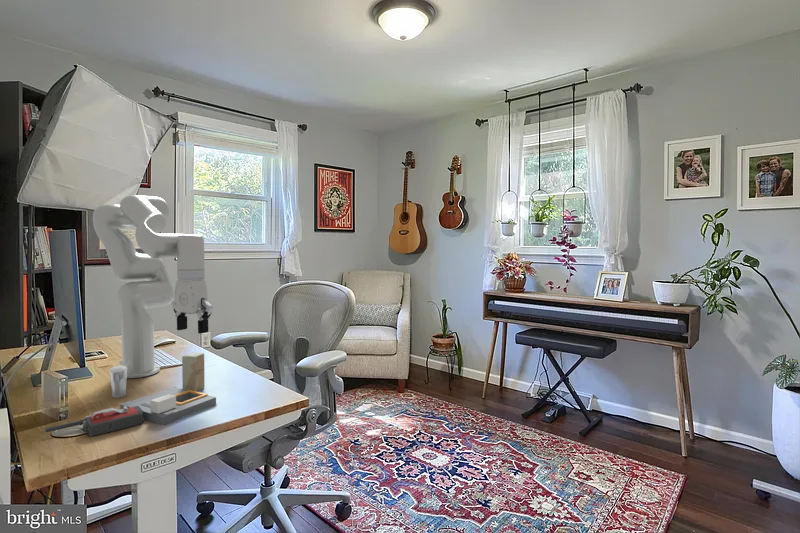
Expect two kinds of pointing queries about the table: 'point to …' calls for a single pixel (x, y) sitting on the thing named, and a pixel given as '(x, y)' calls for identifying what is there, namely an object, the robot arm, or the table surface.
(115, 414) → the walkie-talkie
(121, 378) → the milkshake
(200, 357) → the box
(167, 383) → the table surface
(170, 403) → the block
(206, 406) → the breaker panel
